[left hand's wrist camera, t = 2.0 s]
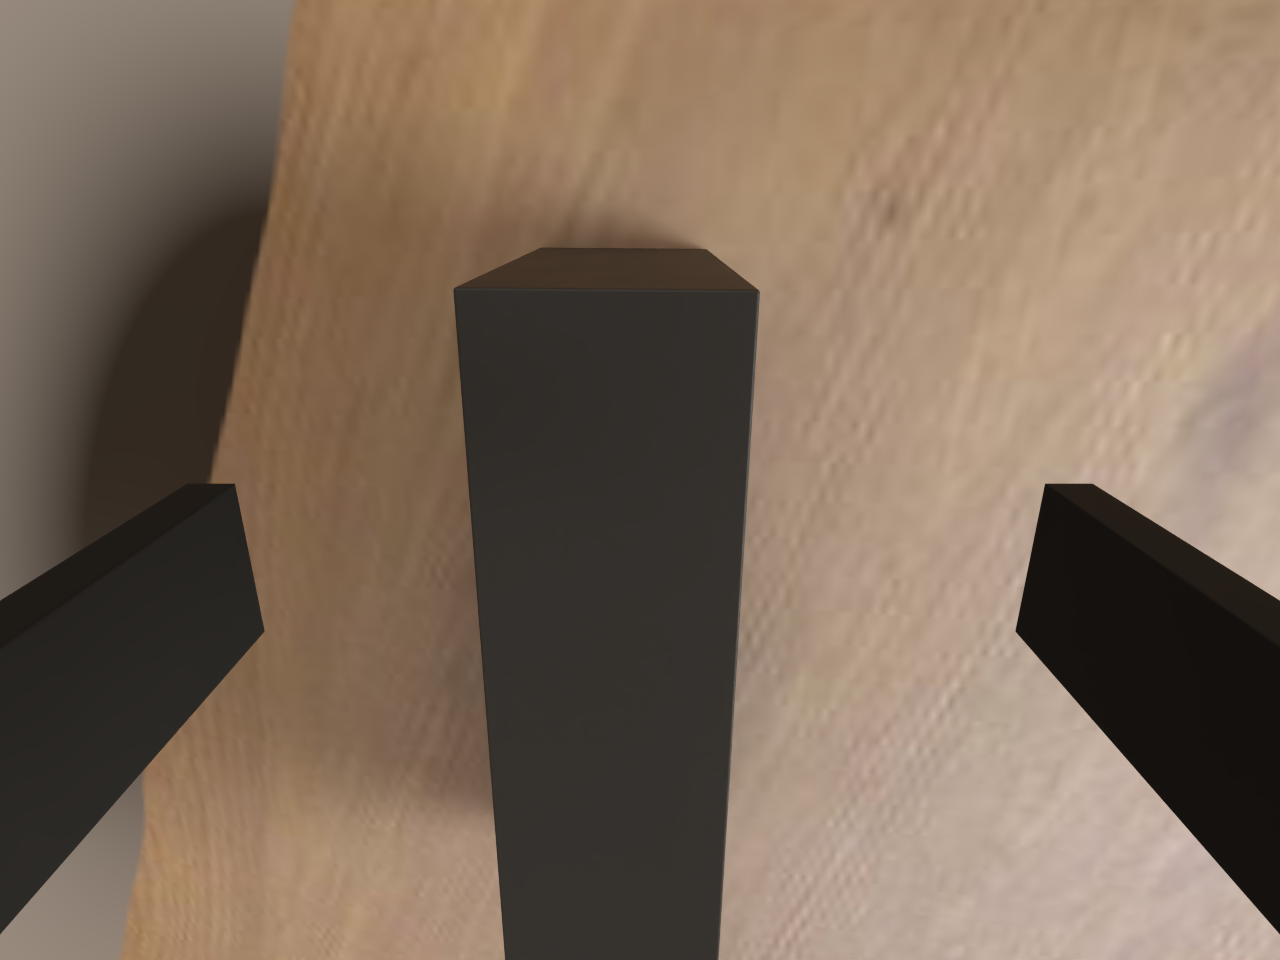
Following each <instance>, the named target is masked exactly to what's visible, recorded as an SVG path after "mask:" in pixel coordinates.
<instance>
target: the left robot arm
mask: <svg viewBox="0 0 1280 960" xmlns="http://www.w3.org/2000/svg"><path fill="white" fill-rule="evenodd" d="M263 633H264V626H263V622H262V617H261V612H260V607H259V602H258V597H257V592H256V587H255V582H254V577H253V572H252V567H251V562H250V557H249V552H248V547H247V542H246V537H245V532H244V527H243V522H242V517H241V512H240V507H239V502H238V497H237V492H236V487H235V484H186V485H185V486H183V487H182V488H180V489H178V490H177V491H175V492H174V493H172V494H170V495H169V496H167V497H166V498H164V499H162V500H161V501H159V502H158V503H156V504H154V505H153V506H151V507H150V508H148V509H146V510H145V511H143V512H142V513H140V514H138V515H137V516H135V517H133V518H132V519H130V520H129V521H127V522H126V523H124V524H122V525H121V526H119V527H118V528H116V529H114V530H113V531H111V532H109V533H108V534H106V535H105V536H103V537H101V538H100V539H98V540H97V541H95V542H93V543H92V544H90V545H89V546H87V547H85V548H84V549H82V550H81V551H79V552H77V553H76V554H74V555H73V556H71V557H69V558H68V559H66V560H65V561H63V562H62V563H60V564H58V565H57V566H55V567H53V568H52V569H50V570H49V571H47V572H45V573H44V574H42V575H41V576H39V577H37V578H36V579H34V580H33V581H31V582H29V583H28V584H26V585H25V586H23V587H21V588H20V589H18V590H17V591H15V592H13V593H12V594H10V595H9V596H7V597H5V598H4V599H2V600H1V601H0V934H1V933H2V931H3V930H4V929H5V928H6V927H7V926H8V925H9V923H10V922H11V921H12V920H13V919H14V918H15V916H16V915H17V914H18V913H19V912H20V911H21V910H22V909H23V907H24V906H25V905H26V904H27V903H28V902H29V900H30V899H31V898H32V897H33V896H34V895H35V894H36V893H37V891H38V890H39V889H40V888H41V887H42V886H43V884H44V883H45V882H46V881H47V880H48V879H49V878H50V876H51V875H52V874H53V873H54V872H55V871H56V870H57V868H58V867H59V866H60V865H61V864H62V863H63V862H64V860H65V859H66V858H67V857H68V856H69V855H70V854H71V852H72V851H73V850H74V849H75V848H76V847H77V846H78V844H79V843H80V842H81V841H82V840H83V839H84V838H85V836H86V835H87V834H88V833H89V832H90V831H91V830H92V828H93V827H94V826H95V825H96V824H97V823H98V822H99V820H100V819H101V818H102V817H103V816H104V815H105V813H106V812H107V811H108V810H109V809H110V808H111V807H112V805H113V804H114V803H115V802H116V801H117V800H118V799H119V797H120V796H121V795H122V794H123V793H124V792H125V791H126V789H127V788H128V787H129V786H130V785H131V784H132V783H133V781H134V780H135V779H136V778H137V777H138V776H139V774H140V773H141V772H142V771H143V770H144V769H145V768H146V767H147V765H148V764H149V763H150V762H151V761H152V760H153V759H154V757H155V756H156V755H157V754H158V753H159V752H160V750H161V749H162V748H163V747H164V746H165V745H166V744H167V742H168V741H169V740H170V739H171V738H172V737H173V736H174V734H175V733H176V732H177V731H178V730H179V729H180V728H181V726H182V725H183V724H184V723H185V722H186V721H187V720H188V718H189V717H190V716H191V715H192V714H193V713H194V712H195V710H196V709H197V708H198V707H199V706H200V705H201V704H202V702H203V701H204V700H205V699H206V698H207V697H208V696H209V694H210V693H211V692H212V691H213V690H214V689H215V687H216V686H217V685H218V684H219V683H220V682H221V681H222V679H223V678H224V677H225V676H226V675H227V674H228V673H229V671H230V670H231V669H232V668H233V667H234V666H235V665H236V663H237V662H238V661H239V660H240V659H241V658H242V657H243V655H244V654H245V653H246V652H247V651H248V650H249V649H250V647H251V646H252V645H253V644H254V643H255V642H256V641H257V639H258V638H259V637H260V636H261V635H262V634H263ZM1016 633H1017V634H1018V635H1019V636H1020V637H1021V638H1022V639H1023V641H1024V642H1025V643H1026V644H1027V645H1028V646H1029V647H1030V649H1031V650H1032V651H1033V652H1034V653H1035V654H1036V655H1037V657H1038V658H1039V659H1040V660H1041V661H1042V662H1043V663H1044V665H1045V666H1046V667H1047V668H1048V669H1049V670H1050V671H1051V673H1052V674H1053V675H1054V676H1055V677H1056V678H1057V679H1058V681H1059V682H1060V683H1061V684H1062V685H1063V686H1064V687H1065V689H1066V690H1067V691H1068V692H1069V693H1070V694H1071V696H1072V697H1073V698H1074V699H1075V700H1076V701H1077V702H1078V704H1079V705H1080V706H1081V707H1082V708H1083V709H1084V710H1085V712H1086V713H1087V714H1088V715H1089V716H1090V717H1091V718H1092V720H1093V721H1094V722H1095V723H1096V724H1097V725H1098V726H1099V728H1100V729H1101V730H1102V731H1103V732H1104V733H1105V734H1106V736H1107V737H1108V738H1109V739H1110V740H1111V741H1112V742H1113V744H1114V745H1115V746H1116V747H1117V748H1118V749H1119V750H1120V752H1121V753H1122V754H1123V755H1124V756H1125V757H1126V759H1127V760H1128V761H1129V762H1130V763H1131V764H1132V765H1133V767H1134V768H1135V769H1136V770H1137V771H1138V772H1139V773H1140V775H1141V776H1142V777H1143V778H1144V779H1145V780H1146V781H1147V783H1148V784H1149V785H1150V786H1151V787H1152V788H1153V789H1154V791H1155V792H1156V793H1157V794H1158V795H1159V796H1160V797H1161V799H1162V800H1163V801H1164V802H1165V803H1166V804H1167V805H1168V807H1169V808H1170V809H1171V810H1172V811H1173V812H1174V813H1175V815H1176V816H1177V817H1178V818H1179V819H1180V820H1181V822H1182V823H1183V824H1184V825H1185V826H1186V827H1187V828H1188V830H1189V831H1190V832H1191V833H1192V834H1193V835H1194V836H1195V838H1196V839H1197V840H1198V841H1199V842H1200V843H1201V844H1202V846H1203V847H1204V848H1205V849H1206V850H1207V851H1208V852H1209V854H1210V855H1211V856H1212V857H1213V858H1214V859H1215V860H1216V862H1217V863H1218V864H1219V865H1220V866H1221V867H1222V868H1223V870H1224V871H1225V872H1226V873H1227V874H1228V875H1229V876H1230V878H1231V879H1232V880H1233V881H1234V882H1235V883H1236V885H1237V886H1238V887H1239V888H1240V889H1241V890H1242V891H1243V893H1244V894H1245V895H1246V896H1247V897H1248V898H1249V899H1250V901H1251V902H1252V903H1253V904H1254V905H1255V906H1256V907H1257V909H1258V910H1259V911H1260V912H1261V913H1262V914H1263V915H1264V917H1265V918H1266V919H1267V920H1268V921H1269V922H1270V923H1271V925H1272V926H1273V927H1274V928H1275V929H1276V930H1277V931H1278V933H1279V934H1280V601H1279V600H1278V599H1276V598H1275V597H1273V596H1271V595H1270V594H1268V593H1267V592H1265V591H1263V590H1262V589H1260V588H1259V587H1257V586H1255V585H1254V584H1252V583H1251V582H1249V581H1247V580H1246V579H1244V578H1243V577H1241V576H1239V575H1238V574H1236V573H1235V572H1233V571H1231V570H1230V569H1228V568H1227V567H1225V566H1223V565H1222V564H1220V563H1219V562H1217V561H1215V560H1214V559H1212V558H1211V557H1209V556H1207V555H1206V554H1204V553H1203V552H1201V551H1199V550H1198V549H1196V548H1195V547H1193V546H1191V545H1190V544H1188V543H1187V542H1185V541H1183V540H1182V539H1180V538H1179V537H1177V536H1175V535H1174V534H1172V533H1171V532H1169V531H1167V530H1166V529H1164V528H1163V527H1161V526H1159V525H1158V524H1156V523H1155V522H1153V521H1151V520H1150V519H1148V518H1147V517H1145V516H1143V515H1142V514H1140V513H1139V512H1137V511H1135V510H1134V509H1132V508H1131V507H1129V506H1127V505H1126V504H1124V503H1122V502H1121V501H1119V500H1118V499H1116V498H1114V497H1113V496H1111V495H1110V494H1108V493H1106V492H1105V491H1103V490H1102V489H1100V488H1098V487H1097V486H1095V485H1094V484H1045V487H1044V492H1043V497H1042V502H1041V507H1040V512H1039V517H1038V522H1037V527H1036V532H1035V537H1034V542H1033V547H1032V552H1031V557H1030V562H1029V567H1028V572H1027V577H1026V582H1025V587H1024V592H1023V597H1022V602H1021V607H1020V612H1019V617H1018V622H1017V626H1016Z"/></svg>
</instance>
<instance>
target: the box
mask: <svg viewBox="0 0 1280 960" xmlns="http://www.w3.org/2000/svg"><path fill="white" fill-rule="evenodd" d="M759 297H760V292H759V290H758V289H756V288H755V287H754V286H752V285H751V284H750V283H749V282H747V281H746V280H745V279H744V278H742V277H741V276H740V275H738V274H737V273H736V272H735V271H733V270H732V269H731V268H729V267H728V266H727V265H726V264H724V263H723V262H722V261H721V260H719V259H718V258H717V257H715V256H714V255H713V254H712V253H710V252H709V251H708V250H706V249H622V248H540V249H537V250H535V251H533V252H531V253H529V254H527V255H524V256H522V257H520V258H518V259H516V260H514V261H512V262H509V263H507V264H505V265H503V266H501V267H499V268H496V269H494V270H492V271H490V272H488V273H486V274H483V275H481V276H479V277H477V278H475V279H473V280H471V281H468V282H466V283H464V284H462V285H460V286H458V287H455V288H454V302H455V315H456V328H457V341H458V354H459V367H460V380H461V393H462V406H463V419H464V432H465V445H466V458H467V471H468V484H469V497H470V509H471V522H472V535H473V548H474V561H475V574H476V587H477V600H478V613H479V626H480V639H481V652H482V665H483V678H484V691H485V704H486V717H487V730H488V743H489V756H490V769H491V782H492V795H493V808H494V821H495V834H496V846H497V859H498V872H499V885H500V898H501V911H502V924H503V937H504V950H505V960H718V957H719V941H720V925H721V909H722V893H723V877H724V860H725V844H726V828H727V812H728V796H729V780H730V764H731V748H732V732H733V716H734V699H735V683H736V667H737V651H738V635H739V619H740V603H741V587H742V571H743V555H744V539H745V522H746V506H747V490H748V474H749V458H750V442H751V426H752V410H753V394H754V378H755V361H756V345H757V329H758V313H759Z"/></svg>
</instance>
